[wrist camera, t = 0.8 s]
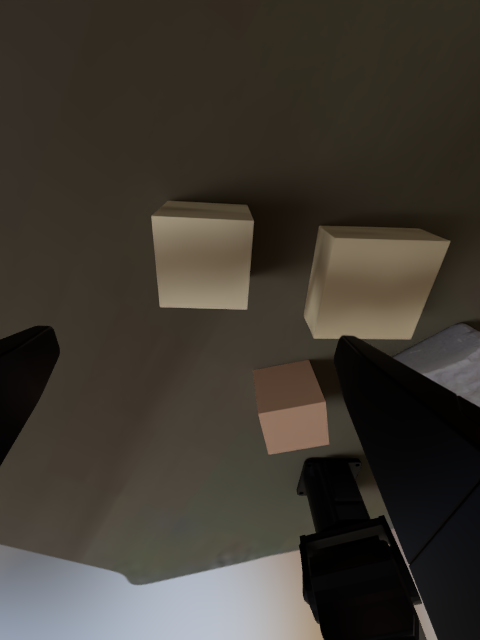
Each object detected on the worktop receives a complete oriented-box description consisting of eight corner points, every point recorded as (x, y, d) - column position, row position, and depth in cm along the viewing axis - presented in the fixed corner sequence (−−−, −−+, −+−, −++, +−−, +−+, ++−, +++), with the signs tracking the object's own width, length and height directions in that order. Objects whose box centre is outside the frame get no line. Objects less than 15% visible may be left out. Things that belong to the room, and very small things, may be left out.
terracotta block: (312, 398, 28) (329, 444, 24) (262, 408, 28) (268, 454, 24) (308, 359, 25) (325, 401, 21) (252, 369, 26) (258, 413, 21)
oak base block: (387, 314, 24) (410, 339, 21) (302, 314, 23) (314, 338, 20) (416, 227, 20) (450, 241, 17) (317, 224, 20) (334, 238, 17)
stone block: (476, 366, 29) (465, 309, 23) (517, 408, 26) (516, 353, 20) (367, 415, 33) (333, 376, 27) (389, 457, 29) (355, 423, 23)
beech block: (242, 277, 21) (246, 309, 17) (173, 274, 21) (159, 307, 17) (247, 204, 19) (253, 221, 14) (168, 200, 18) (151, 215, 14)
